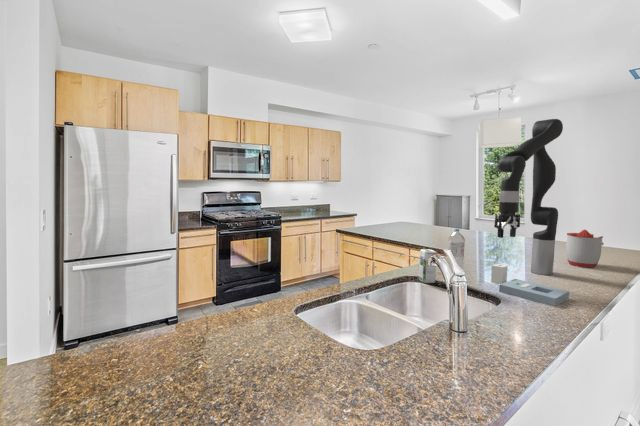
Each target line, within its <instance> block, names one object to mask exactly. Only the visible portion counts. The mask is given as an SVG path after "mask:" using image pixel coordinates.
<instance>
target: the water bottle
mask: <svg viewBox="0 0 640 426" xmlns="http://www.w3.org/2000/svg"><path fill="white" fill-rule="evenodd" d="M447 242H448V243H447V244H448V245H447V251H448V250H451V252H452V254H453V256H454V259H455V260H456V262H457V264H458V265H459V266H460V267H461V268H462V269H463V271H464V268H465V266H464V265H465V242H466V238H465V237H464V235H463V234H462V233H460V229H459V228H454V232H452V233H451V234H450V235H449V236H448V237H447Z"/></svg>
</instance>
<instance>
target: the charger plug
mask: <svg viewBox="0 0 640 426" xmlns="http://www.w3.org/2000/svg"><path fill="white" fill-rule="evenodd" d="M508 267H509V266H508V265H504V264H500V263H495V264H493V265H491V275H490V276H491V279H490V282H491V283H492V284H495V285H499V284H502V283H505V282H508V281H507V280H508Z"/></svg>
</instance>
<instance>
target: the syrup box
mask: <svg viewBox="0 0 640 426" xmlns="http://www.w3.org/2000/svg"><path fill="white" fill-rule="evenodd" d="M437 253H438V251H435V250H433V249H430V248H423V249H422V248H421V249H420V251H419V269H418V270H419V271H418V280H419V281H420V282H422V283H423V284H433V283H436V274H437V265H436V266H429V265H428V264H427V260H428V259H429V258H430V257H431V256H434V255H438V254H437Z"/></svg>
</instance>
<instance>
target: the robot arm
mask: <svg viewBox="0 0 640 426" xmlns="http://www.w3.org/2000/svg"><path fill="white" fill-rule="evenodd" d="M563 129H564V125H563V122H562V120H561V119H559V118H551V119H543V120H542V119H541V120H537V121H535V122H534V123H533V126H532V131H531V133H532V134H531V136H532V137H531V138H529V139H527V140H526V141H524V142H522V143H520V145H519V146H518V147H516V149H514V150H512V151H509V152H508V153H506V154H505V155H503V156H502V157H501V158H500V159H499V161H498V165H497V167H498V170H499V171H500V172H502V173H511V174H510V176H507V177H504V178H502V179H501V183H500V184H501V185H500V194H499V203H498V211H499V212H500V214H497V213H495V217H494V225H493V226H494V227H493V228H496V229H497V237H498V238H500V239H503V238H504V231H505V230H504V229H505V227H506V226H507V225H509V227H510V229H509V237H511V238H516V234H517V229H518V228H520V227H521V214H520V213H518V212H519V204H520V182H521V179H522V176H523V174H524V171H525V169H526V164H527V163H526V162H527V161H528V160H529V159H530V158H532V157H533V167H532V199H531V208H530V222H531V223H532V225H535V226H536V225H537V226H546V228H545V229H544V230H541V231H535V232H533V235H532V248H531V249H532V250H531V261H530V262H531V264H530V272H531V273H534V274H538V275H543V276H551V275H553V274H554V262H555V248H556V247H555V245H556V234H557V228H558V220H559V210H558V209H557V208H556V207H550V206H542V200H543V198H544V196H545V195H546V194H547V192H548V191H549V190H550V189H551V187H552V186H553V185H554V183H555V182H556V178H557V177H556V175H557V174H556V173H557V172H556V171H557V167H556V163H555V162H554V161H553V158H551V157H550V155H549V154H548V152H547V150H546V145H548V144H550V143H551V142H552V141H554V140H556V139H558V138H559V137H560V136H561V134H562V133H563Z"/></svg>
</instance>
